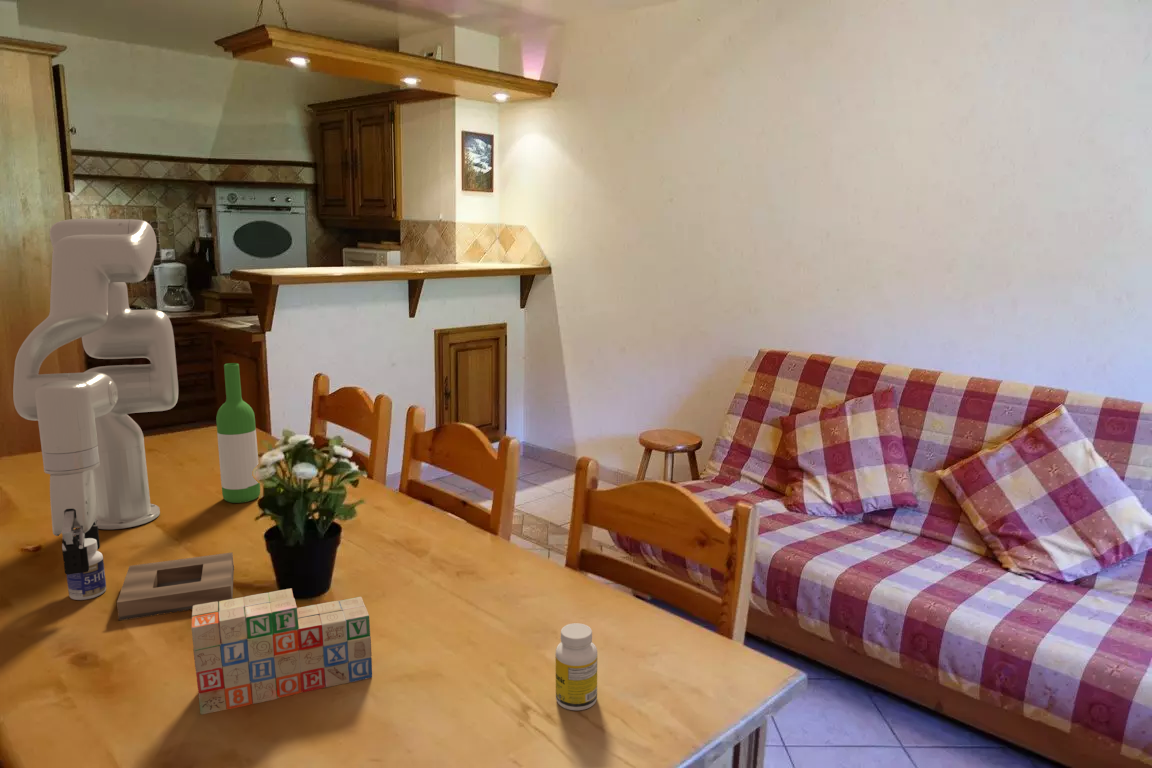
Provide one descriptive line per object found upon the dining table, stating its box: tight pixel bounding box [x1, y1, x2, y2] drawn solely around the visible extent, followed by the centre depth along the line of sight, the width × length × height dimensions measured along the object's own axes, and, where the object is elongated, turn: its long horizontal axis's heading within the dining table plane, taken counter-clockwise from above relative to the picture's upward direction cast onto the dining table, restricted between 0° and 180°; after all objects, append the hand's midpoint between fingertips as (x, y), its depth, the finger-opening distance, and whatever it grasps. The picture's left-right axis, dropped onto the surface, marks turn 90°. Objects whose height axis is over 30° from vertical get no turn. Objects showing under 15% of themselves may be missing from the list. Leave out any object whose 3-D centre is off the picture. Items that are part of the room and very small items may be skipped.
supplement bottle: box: [555, 622, 598, 711], centre depth 103 cm, size 5×5×10 cm
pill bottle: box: [66, 538, 107, 601], centre depth 131 cm, size 5×5×9 cm
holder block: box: [116, 552, 235, 621], centre depth 132 cm, size 14×16×3 cm
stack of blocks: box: [191, 588, 373, 715], centre depth 106 cm, size 21×6×12 cm, turn 114°
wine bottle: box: [215, 362, 261, 504], centre depth 174 cm, size 8×8×30 cm
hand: (83, 561), depth 130 cm, fingers open, 9 cm apart
